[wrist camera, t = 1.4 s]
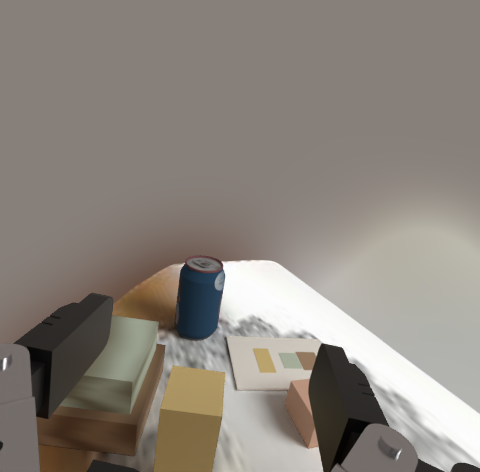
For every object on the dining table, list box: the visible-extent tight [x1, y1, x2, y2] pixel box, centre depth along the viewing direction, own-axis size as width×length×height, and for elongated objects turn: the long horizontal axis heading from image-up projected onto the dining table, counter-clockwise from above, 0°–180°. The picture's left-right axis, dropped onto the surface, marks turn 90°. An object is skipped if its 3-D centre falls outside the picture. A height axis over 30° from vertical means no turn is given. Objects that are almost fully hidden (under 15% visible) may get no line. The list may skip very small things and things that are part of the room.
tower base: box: [36, 315, 165, 456], centre depth 36 cm, size 12×12×8 cm
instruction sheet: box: [226, 336, 321, 391], centre depth 49 cm, size 16×11×1 cm
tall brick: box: [153, 366, 225, 472], centre depth 27 cm, size 4×4×12 cm
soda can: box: [174, 256, 225, 341], centre depth 51 cm, size 7×7×12 cm
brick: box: [285, 379, 319, 449], centre depth 39 cm, size 6×6×4 cm
